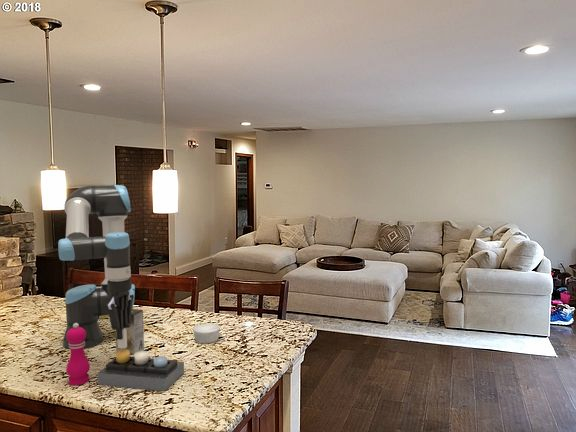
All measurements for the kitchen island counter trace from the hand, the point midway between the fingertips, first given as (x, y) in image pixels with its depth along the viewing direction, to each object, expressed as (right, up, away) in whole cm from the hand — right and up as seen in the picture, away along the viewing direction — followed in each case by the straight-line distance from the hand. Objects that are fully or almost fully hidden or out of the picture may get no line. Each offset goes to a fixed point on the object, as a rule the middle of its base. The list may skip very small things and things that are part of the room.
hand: (122, 347), depth 157 cm
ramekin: (+22, -7, +36) cm, 43 cm away
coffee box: (-6, -9, +25) cm, 27 cm away
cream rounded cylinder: (+7, -8, -1) cm, 11 cm away
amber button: (0, -8, +1) cm, 8 cm away
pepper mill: (-14, -11, -2) cm, 18 cm away
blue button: (+14, -10, -2) cm, 17 cm away
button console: (+7, -10, 0) cm, 13 cm away
